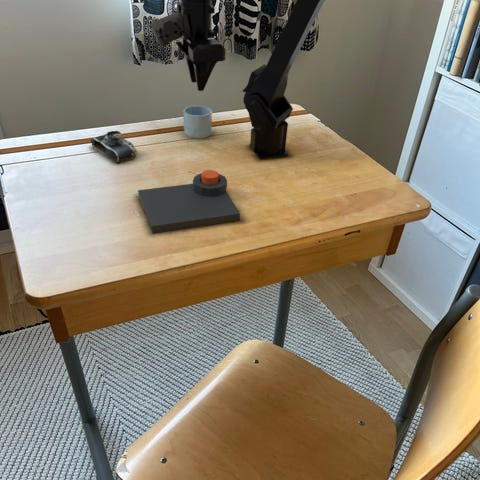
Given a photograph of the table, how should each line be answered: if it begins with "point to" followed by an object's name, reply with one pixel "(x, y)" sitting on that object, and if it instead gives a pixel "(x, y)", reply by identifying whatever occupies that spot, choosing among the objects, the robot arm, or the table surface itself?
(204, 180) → the button
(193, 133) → the cup
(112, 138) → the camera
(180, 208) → the grey base plate
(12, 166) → the table surface
